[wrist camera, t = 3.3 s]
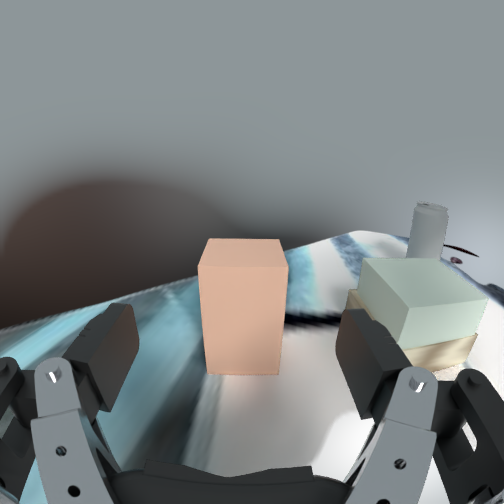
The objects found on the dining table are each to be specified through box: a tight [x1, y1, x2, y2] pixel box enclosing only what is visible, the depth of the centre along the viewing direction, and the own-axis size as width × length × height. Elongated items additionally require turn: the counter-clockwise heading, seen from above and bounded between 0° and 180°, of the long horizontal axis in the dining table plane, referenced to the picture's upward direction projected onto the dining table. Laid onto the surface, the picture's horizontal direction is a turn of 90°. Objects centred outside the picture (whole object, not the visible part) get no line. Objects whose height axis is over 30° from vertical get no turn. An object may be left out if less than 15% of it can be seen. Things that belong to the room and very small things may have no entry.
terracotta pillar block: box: [198, 239, 289, 375], centre depth 23 cm, size 6×6×10 cm
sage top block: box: [357, 258, 489, 349], centre depth 23 cm, size 10×10×4 cm
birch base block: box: [346, 289, 478, 372], centre depth 25 cm, size 11×11×4 cm
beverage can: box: [406, 202, 448, 261], centre depth 40 cm, size 6×6×12 cm
